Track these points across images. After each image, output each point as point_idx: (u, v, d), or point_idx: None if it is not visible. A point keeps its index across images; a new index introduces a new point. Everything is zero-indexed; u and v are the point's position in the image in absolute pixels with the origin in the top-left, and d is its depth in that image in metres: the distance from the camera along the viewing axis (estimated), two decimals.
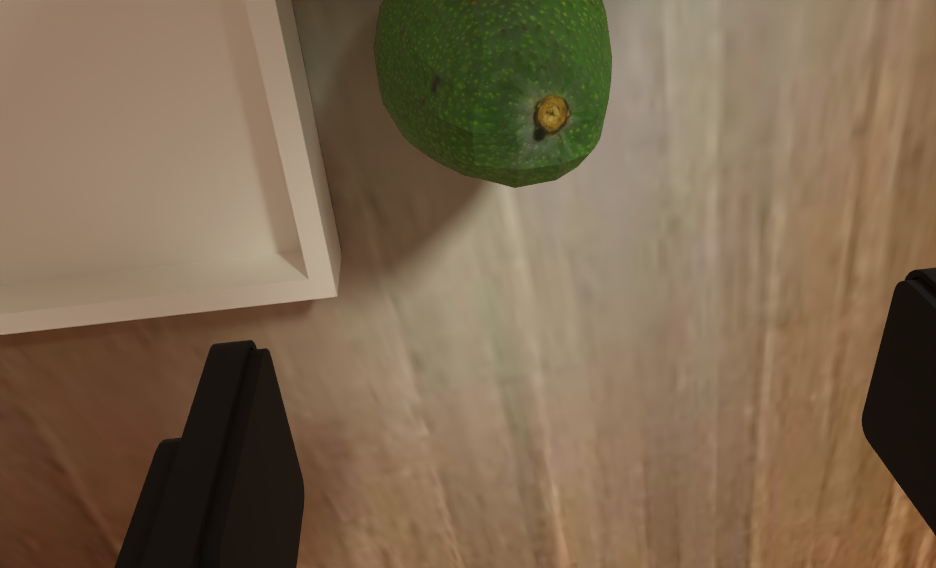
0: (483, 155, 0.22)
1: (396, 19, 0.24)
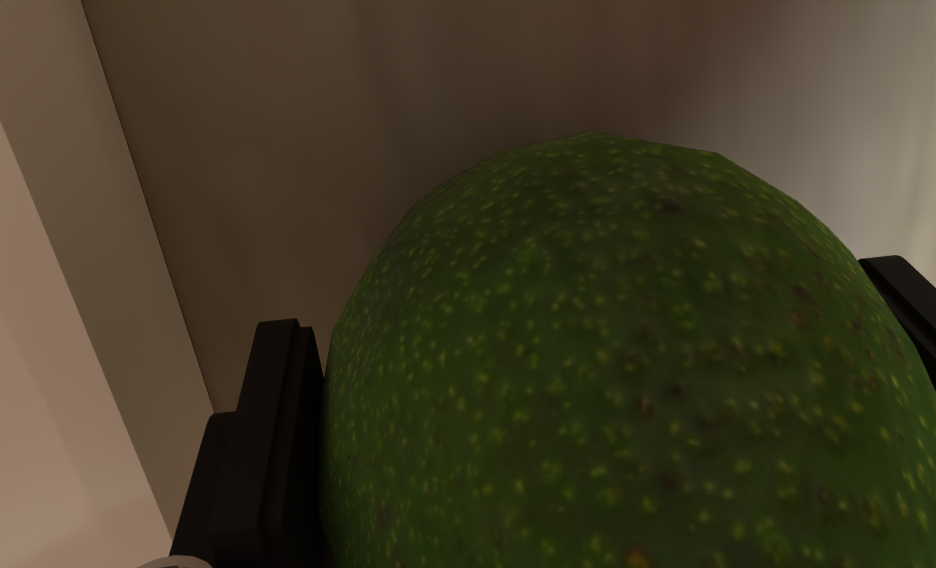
0: None
1: (367, 453, 0.08)
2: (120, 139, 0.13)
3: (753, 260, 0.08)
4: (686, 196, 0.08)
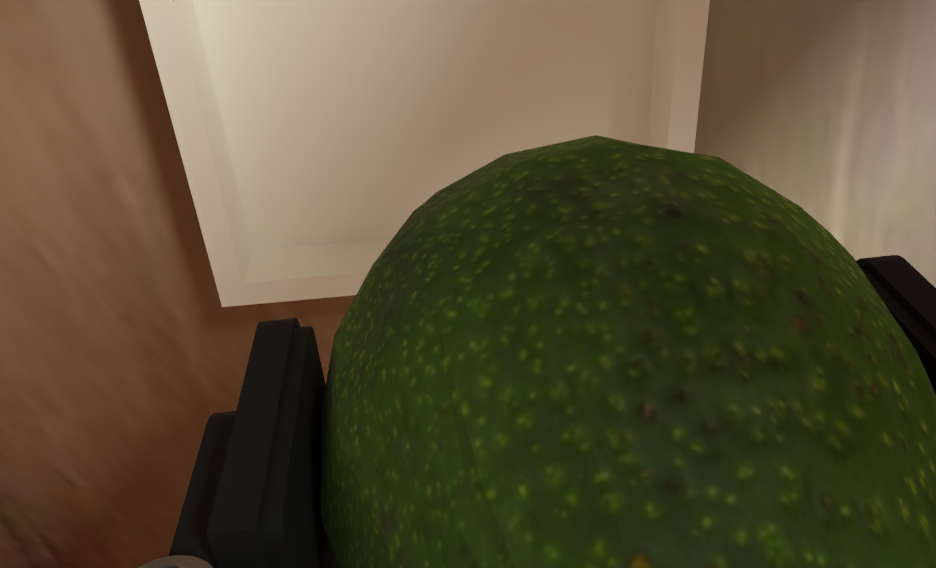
0: None
1: (370, 458, 0.08)
2: None
3: (754, 265, 0.08)
4: (689, 202, 0.08)
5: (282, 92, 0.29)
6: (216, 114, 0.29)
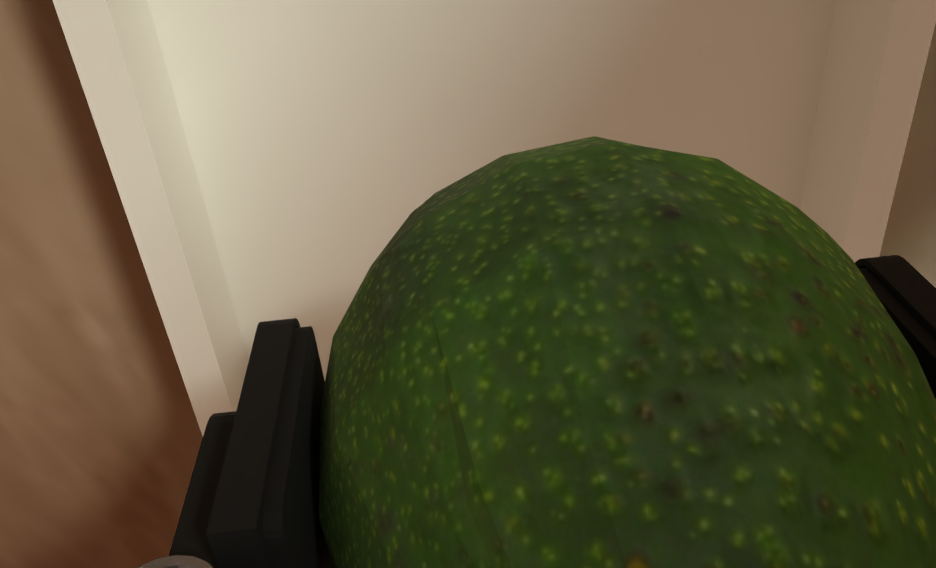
0: None
1: (368, 460, 0.08)
2: None
3: (753, 267, 0.08)
4: (687, 202, 0.08)
5: (299, 208, 0.21)
6: (208, 242, 0.21)
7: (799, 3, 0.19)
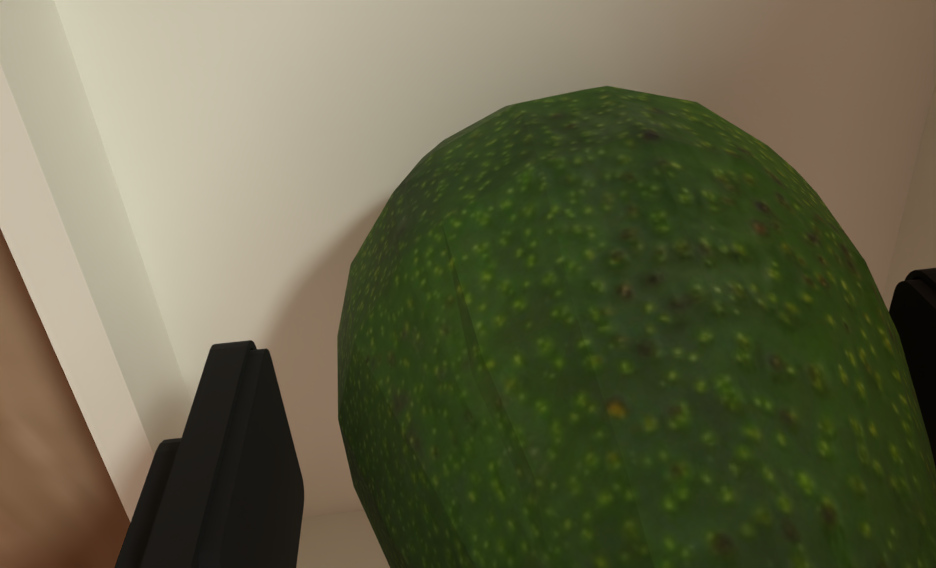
0: None
1: (385, 353, 0.10)
2: None
3: (723, 181, 0.09)
4: (665, 129, 0.10)
5: (274, 311, 0.17)
6: (163, 354, 0.17)
7: (896, 66, 0.15)
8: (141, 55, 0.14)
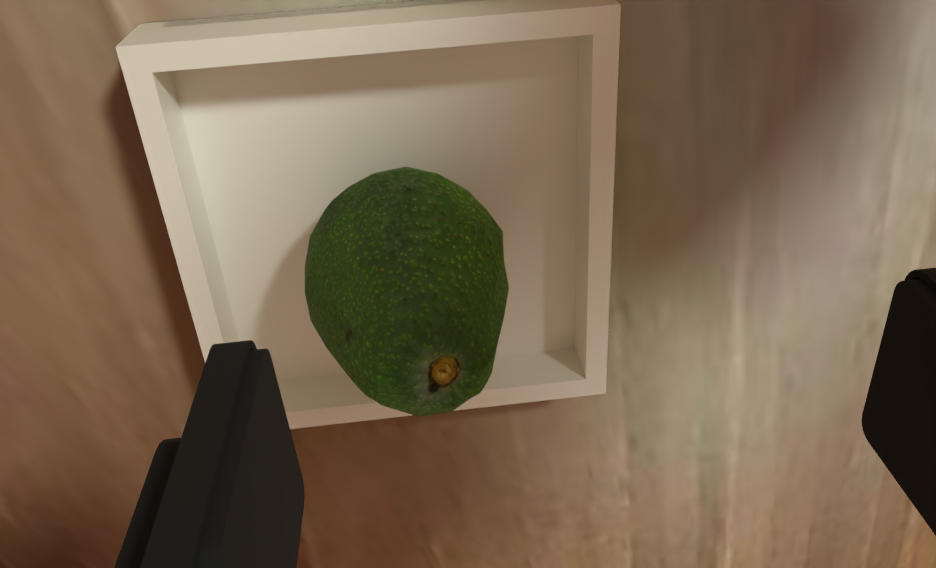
0: (387, 399, 0.26)
1: (320, 262, 0.28)
2: None
3: (430, 204, 0.28)
4: (416, 187, 0.28)
5: (275, 265, 0.36)
6: (221, 285, 0.35)
7: (556, 152, 0.34)
8: (220, 148, 0.33)
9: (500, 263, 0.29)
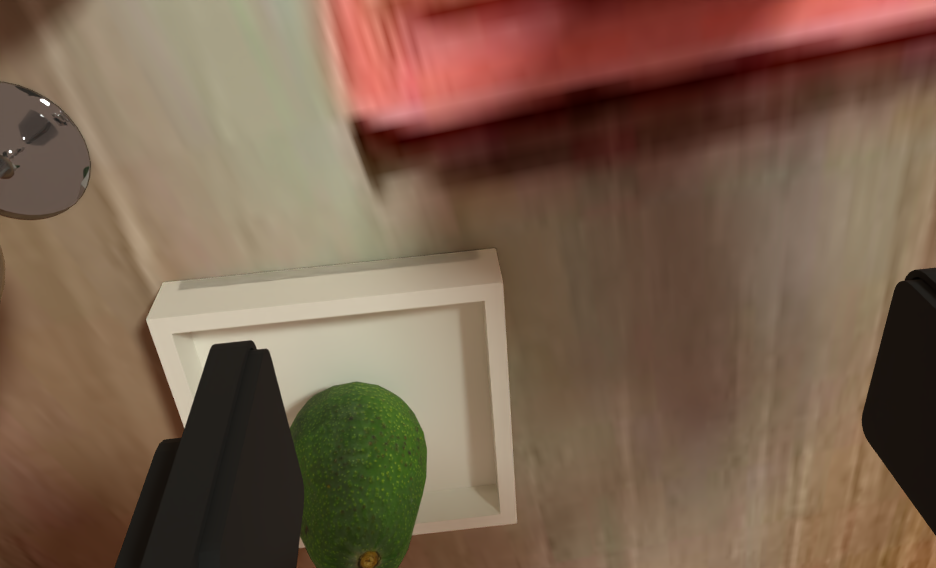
0: None
1: None
2: None
3: (365, 430, 0.40)
4: (356, 414, 0.40)
5: None
6: None
7: (471, 357, 0.46)
8: None
9: (416, 467, 0.41)
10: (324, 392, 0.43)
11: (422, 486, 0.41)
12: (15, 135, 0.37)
